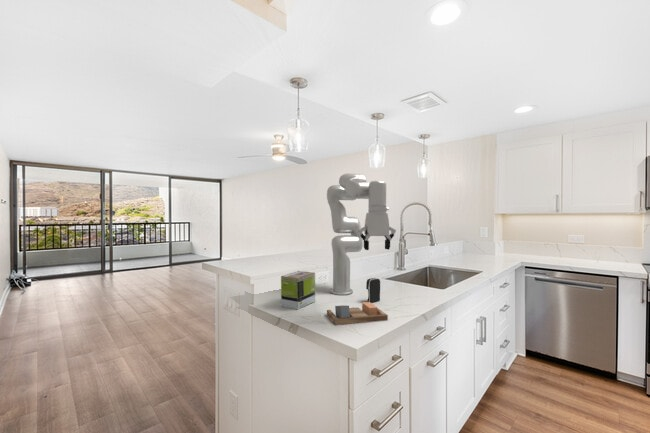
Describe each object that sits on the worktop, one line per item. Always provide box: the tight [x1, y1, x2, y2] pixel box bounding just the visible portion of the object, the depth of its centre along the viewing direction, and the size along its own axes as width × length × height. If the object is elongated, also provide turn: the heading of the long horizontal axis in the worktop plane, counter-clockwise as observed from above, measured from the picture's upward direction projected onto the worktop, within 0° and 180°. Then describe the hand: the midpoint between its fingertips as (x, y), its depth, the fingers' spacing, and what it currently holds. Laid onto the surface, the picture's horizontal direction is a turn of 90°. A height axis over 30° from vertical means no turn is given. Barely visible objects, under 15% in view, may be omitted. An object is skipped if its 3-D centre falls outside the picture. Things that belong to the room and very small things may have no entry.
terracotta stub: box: [361, 301, 378, 316], centre depth 129 cm, size 8×4×4 cm, turn 15°
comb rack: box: [326, 307, 389, 326], centre depth 126 cm, size 12×22×2 cm, turn 105°
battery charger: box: [365, 277, 381, 303], centre depth 150 cm, size 7×4×11 cm, turn 125°
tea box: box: [280, 270, 316, 310], centre depth 144 cm, size 15×10×15 cm
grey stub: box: [334, 304, 350, 318], centre depth 123 cm, size 8×4×4 cm, turn 15°
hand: (377, 249), depth 129 cm, fingers open, 9 cm apart
